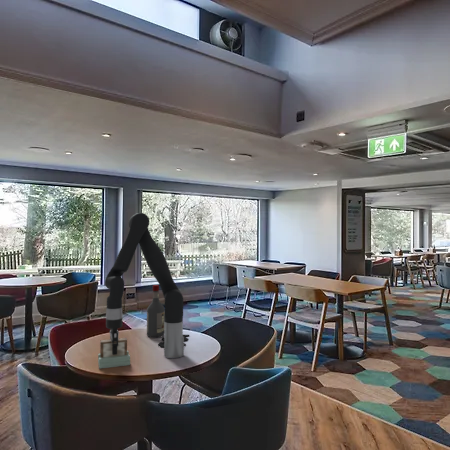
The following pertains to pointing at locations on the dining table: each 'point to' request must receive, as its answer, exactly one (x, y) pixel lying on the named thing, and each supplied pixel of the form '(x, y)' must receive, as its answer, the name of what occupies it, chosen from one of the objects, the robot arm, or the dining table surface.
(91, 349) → the dining table surface
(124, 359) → the picture ledge
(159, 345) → the figurine
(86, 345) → the dining table surface
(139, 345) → the dining table surface
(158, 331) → the liquor
